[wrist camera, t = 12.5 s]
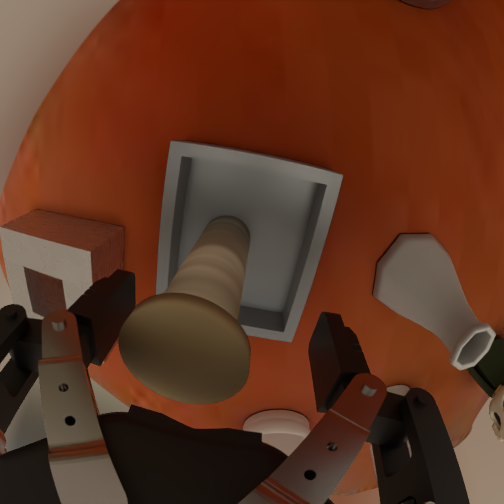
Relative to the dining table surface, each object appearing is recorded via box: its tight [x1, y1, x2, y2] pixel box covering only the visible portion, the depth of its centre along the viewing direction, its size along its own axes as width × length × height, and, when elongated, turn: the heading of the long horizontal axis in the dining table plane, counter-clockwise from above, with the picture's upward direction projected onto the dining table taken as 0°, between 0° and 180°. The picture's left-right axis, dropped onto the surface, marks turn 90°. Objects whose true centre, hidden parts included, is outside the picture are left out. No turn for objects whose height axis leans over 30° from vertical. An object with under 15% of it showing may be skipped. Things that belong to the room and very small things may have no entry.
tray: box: [156, 140, 343, 342], centre depth 19 cm, size 12×10×3 cm
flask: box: [373, 234, 496, 370], centre depth 16 cm, size 7×7×10 cm
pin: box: [118, 215, 251, 404], centre depth 14 cm, size 4×4×12 cm
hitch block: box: [0, 209, 124, 364], centre depth 20 cm, size 10×10×5 cm
